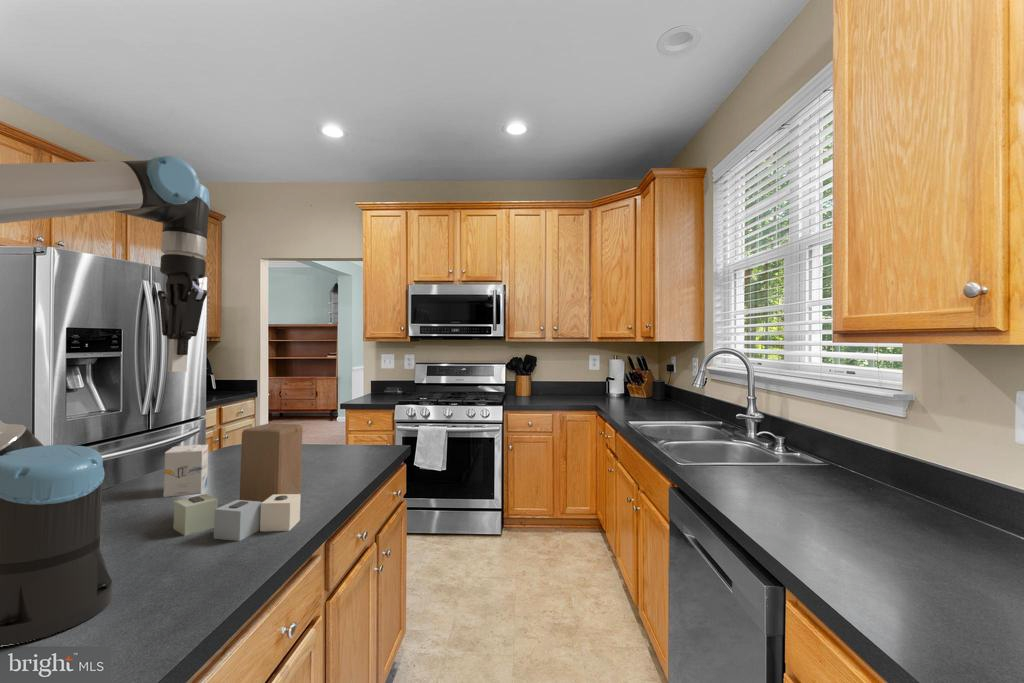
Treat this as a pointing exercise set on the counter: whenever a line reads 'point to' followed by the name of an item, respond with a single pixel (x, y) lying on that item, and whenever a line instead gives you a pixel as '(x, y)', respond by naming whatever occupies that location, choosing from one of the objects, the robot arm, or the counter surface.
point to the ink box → (185, 470)
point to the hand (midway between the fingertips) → (177, 371)
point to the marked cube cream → (280, 512)
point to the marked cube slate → (237, 520)
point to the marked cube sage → (194, 514)
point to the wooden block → (270, 461)
